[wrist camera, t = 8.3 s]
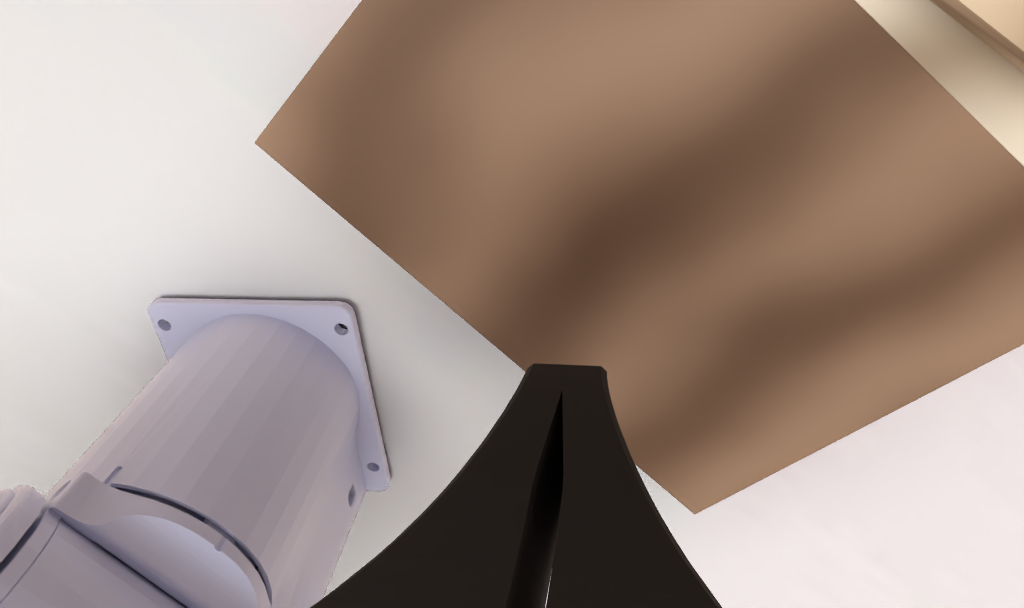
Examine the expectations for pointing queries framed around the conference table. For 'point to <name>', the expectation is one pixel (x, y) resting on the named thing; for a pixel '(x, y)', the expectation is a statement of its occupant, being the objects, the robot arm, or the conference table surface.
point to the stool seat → (688, 203)
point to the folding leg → (992, 24)
